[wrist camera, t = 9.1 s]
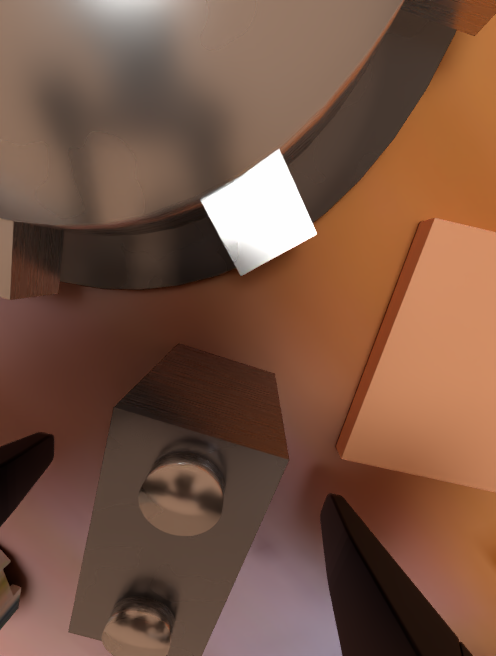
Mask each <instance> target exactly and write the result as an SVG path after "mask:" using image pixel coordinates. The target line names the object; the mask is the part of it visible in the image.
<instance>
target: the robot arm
mask: <svg viewBox="0 0 496 656" xmlns="http://www.w3.org/2000/svg"><path fill="white" fill-rule="evenodd" d="M53 457H54V436H53V435H52V434H48V433H43V432H38V433H35V434H33V435H30V436H27V437H25V438H22V439H20V440H17V441H14V442H12V443H9V444H6V445H4V446H1V447H0V527H1V525H2V524H3V523H4V522H5V521H6V520H7V518H8V517H9V516H10V515H11V514H12V512H13V511H14V510H15V509H16V507H17V506H18V505H19V504H20V502H21V501H22V500H23V498H24V497H25V496H26V495H27V493H28V492H29V491H30V489H31V488H32V487H33V485H34V484H35V483H36V482H37V480H38V479H39V478H40V476H41V475H42V474H43V473H44V471H45V470H46V469H47V467H48V466H49V465H50V463H51V462H52V460H53ZM320 521H321V530H322V538H323V547H324V555H325V564H326V572H327V579H328V585H329V591H330V596H331V601H332V606H333V611H334V616H335V621H336V626H337V631H338V635H339V640H340V645H341V650H342V655H343V656H473V655H472V654H471V653H470V652H469V650H468V649H467V648H466V647H465V645H464V644H463V643H462V642H459V639H458V637H457V636H456V635H455V633H454V632H453V631H452V630H451V629H450V627H449V626H448V625H447V624H446V622H445V621H444V620H443V619H442V618H441V616H440V615H439V614H438V613H437V611H436V610H435V609H434V608H433V607H432V605H431V604H430V603H429V602H428V600H427V599H426V598H425V597H424V596H423V594H422V593H421V592H420V591H419V589H418V588H417V587H416V586H415V585H414V583H413V582H412V581H411V580H410V578H409V577H408V576H407V575H406V574H405V572H404V571H403V570H402V569H401V567H400V566H399V565H398V564H397V563H396V561H395V560H394V559H393V558H392V556H391V555H390V554H389V553H388V552H387V550H386V549H385V548H384V547H383V545H382V544H381V543H380V542H379V541H378V539H377V538H376V537H375V536H374V534H373V533H372V532H371V531H370V530H369V528H368V527H367V526H366V525H365V523H364V522H363V521H362V520H361V519H360V517H359V516H358V515H357V514H356V512H355V511H354V510H353V509H352V508H351V506H350V505H349V504H348V503H347V501H346V500H345V499H344V498H343V497H342V496H340V495H337V494H332V493H329V494H328V495H327V497H326V500H325V502H324V505H323V508H322V510H321V514H320Z"/></svg>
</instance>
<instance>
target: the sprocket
mask: <svg viewBox="0 0 496 656" xmlns="http://www.w3.org/2000/svg"><path fill="white" fill-rule="evenodd" d="M400 9H401V10H404V11H406V12H409V13H412V14H415V15H417V16H420V17H423V18H426V19H428V20H431V21H434V22H437V23H440V24H442V25H445V26H448V27H451V28H453V29H456V30H459V31H462V32H464V33H467V34H470V35H473V36H475V35H476V34H477V33H478V32H479V31H480V30H481V29H482V28H483V27H484V26H485V25H486V24H487V22H488V21H489V20H490V19H491V18H492V17H493V16H494V15H495V14H496V0H0V297H2V298H5V299H8V300H13V299H21V298H29V297H36V296H44V295H51V294H59V284H60V274H61V263H62V253H63V243H64V232H65V231H68V232H74V233H84V234H94V235H104V236H116V235H140V234H147V233H152V232H158V231H163V230H168V229H174V228H178V227H181V226H184V225H187V224H190V223H192V222H195V221H198V220H201V219H204V218H207V217H210V219H211V221H212V223H213V225H214V227H215V228H216V230H217V232H218V234H219V236H220V238H221V240H222V242H223V243H224V245H225V247H226V249H227V251H228V253H229V255H230V257H231V259H232V260H233V262H234V264H235V266H236V268H237V270H238V272H239V274H240V275H241V276H242V275H244V274H246V273H248V272H249V271H251V270H253V269H255V268H257V267H258V266H260V265H262V264H264V263H266V262H268V261H269V260H271V259H273V258H275V257H277V256H278V255H280V254H282V253H284V252H286V251H287V250H289V249H291V248H293V247H295V246H297V245H298V244H300V243H302V242H304V241H306V240H307V239H309V238H311V237H313V236H315V235H317V233H316V230H315V228H314V226H313V224H312V221H311V219H310V217H309V215H308V212H307V210H306V208H305V206H304V203H303V201H302V199H301V197H300V194H299V192H298V190H297V188H296V185H295V183H294V181H293V179H292V176H291V174H290V172H289V170H288V167H287V166H288V165H289V164H290V163H291V162H292V161H294V160H295V159H296V158H297V157H298V156H299V155H300V154H301V153H302V152H303V151H305V150H306V149H307V148H308V147H309V145H310V144H311V143H312V142H313V141H314V140H315V138H316V137H317V136H318V135H319V134H320V133H321V131H322V130H323V129H324V128H325V127H326V126H327V124H328V123H329V122H330V121H331V120H332V118H333V117H334V116H335V115H336V114H337V113H338V111H339V110H340V108H341V107H342V105H343V104H344V102H345V101H346V99H347V98H348V96H349V95H350V93H351V92H352V90H353V89H354V87H355V86H356V84H357V83H358V81H359V80H360V78H361V77H362V76H363V74H364V73H365V71H366V69H367V67H368V66H369V64H370V62H371V60H372V58H373V57H374V55H375V53H376V51H377V49H378V48H379V46H380V44H381V42H382V40H383V39H384V37H385V35H386V33H387V31H388V29H389V28H390V26H391V24H392V22H393V20H394V19H395V17H396V15H397V13H398V11H399V10H400Z"/></svg>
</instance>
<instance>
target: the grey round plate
mask: <svg viewBox="0 0 496 656" xmlns="http://www.w3.org/2000/svg"><path fill="white" fill-rule="evenodd" d="M455 33H456V29H453V28H451V27H448V26H445V25H442V24H440V23H437V22H434V21H431V20H428V19H426V18H423V17H420V16H417V15H415V14H412V13H409V12H406V11H404V10H401V9H400V10H399V11H398V13H397V15H396V17H395V19H394V20H393V22H392V24H391V26H390V28H389V29H388V31H387V33H386V35H385V37H384V39H383V40H382V42H381V44H380V46H379V48H378V49H377V51H376V53H375V55H374V57H373V58H372V60H371V62H370V64H369V66H368V67H367V69H366V71H365V73H364V74H363V76H362V77H361V78H360V80H359V81H358V83H357V84H356V86H355V87H354V89H353V90H352V92H351V93H350V95H349V96H348V98H347V99H346V101H345V102H344V104H343V105H342V107H341V108H340V110H339V111H338V113H337V114H336V115H335V116H334V117H333V118H332V120H331V121H330V122H329V123H328V124H327V126H326V127H325V128H324V129H323V130H322V131H321V133H320V134H319V135H318V136H317V137H316V138H315V140H314V141H313V142H312V143H311V144H310V145H309V147H308V148H307V149H306V150H305V151H303V152H302V153H301V154H300V155H299V156H298V157H297V158H296V159H295V160H294V161H292V162H291V163H290V164H289V165H288V166H287V167H288V170H289V172H290V174H291V176H292V179H293V181H294V183H295V185H296V188H297V190H298V192H299V194H300V197H301V199H302V201H303V203H304V206H305V208H306V210H307V212H308V215H309V217H310V219H311V221H312V223H313V222H315V221H316V220H317V219H319V218H320V217H321V216H322V215H324V214H325V213H326V212H327V211H328V210H329V209H330V208H331V207H332V206H333V205H334V204H335V203H336V202H338V201H339V200H340V199H341V198H342V197H343V196H344V195H345V194H346V193H347V192H348V191H349V190H350V189H351V188H352V187H353V186H354V185H355V184H356V183H357V182H358V181H359V180H360V179H361V178H362V177H363V176H364V174H365V173H366V172H367V171H368V170H369V168H370V167H371V166H372V165H373V164H374V162H375V161H376V160H377V159H378V157H379V156H380V155H381V154H382V153H383V151H384V150H385V149H386V148H387V147H388V145H389V144H390V143H391V142H392V140H393V139H394V138H395V136H396V135H397V133H398V132H399V130H400V129H401V127H402V126H403V124H404V123H405V121H406V120H407V118H408V116H409V115H410V113H411V112H412V110H413V109H414V107H415V106H416V104H417V103H418V101H419V100H420V98H421V97H422V95H423V94H424V92H425V91H426V89H427V87H428V85H429V83H430V81H431V79H432V77H433V75H434V73H435V71H436V69H437V68H438V66H439V64H440V62H441V60H442V58H443V56H444V54H445V52H446V50H447V48H448V46H449V44H450V42H451V41H452V39H453V37H454V35H455ZM235 268H236V266H235V264H234V262H233V260H232V259H231V257H230V255H229V253H228V251H227V249H226V247H225V245H224V243H223V242H222V240H221V238H220V236H219V234H218V232H217V230H216V228H215V227H214V225H213V223H212V221H211V219H210V217H207V218H204V219H201V220H198V221H195V222H192V223H190V224H187V225H184V226H181V227H178V228H174V229H168V230H163V231H158V232H152V233H147V234H140V235H116V236H104V235H94V234H84V233H74V232H68V231H65V232H64V243H63V253H62V263H61V274H60V281H62V282H66V283H72V284H79V285H85V286H91V287H97V288H109V289H148V288H158V287H167V286H176V285H182V284H186V283H190V282H194V281H198V280H202V279H206V278H210V277H214V276H218V275H220V274H223V273H225V272H228V271H230V270H233V269H235Z"/></svg>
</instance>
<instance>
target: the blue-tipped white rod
mask: <svg viewBox="0 0 496 656" xmlns="http://www.w3.org/2000/svg"><path fill="white" fill-rule="evenodd" d="M10 562H11V561H10V560H9V558H8V557H7V556H6V555H5V554H4V553H3V552H2V550H1V549H0V630H1V628H2V627H3V626H4V625H5V623H6V622H7V621H8V620H9V619H10V617H11V616H12V615H13V614H14V613H15V611H16V610H17V609H18V606H19V600H20V593H21V587H19V586H16V585H13V584H12V585H11V586H9V584H8V581H7V579H6V576H5V574H4V571H3V569H4V568H5V567H6V566H7V565H8V564H9V563H10Z"/></svg>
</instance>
